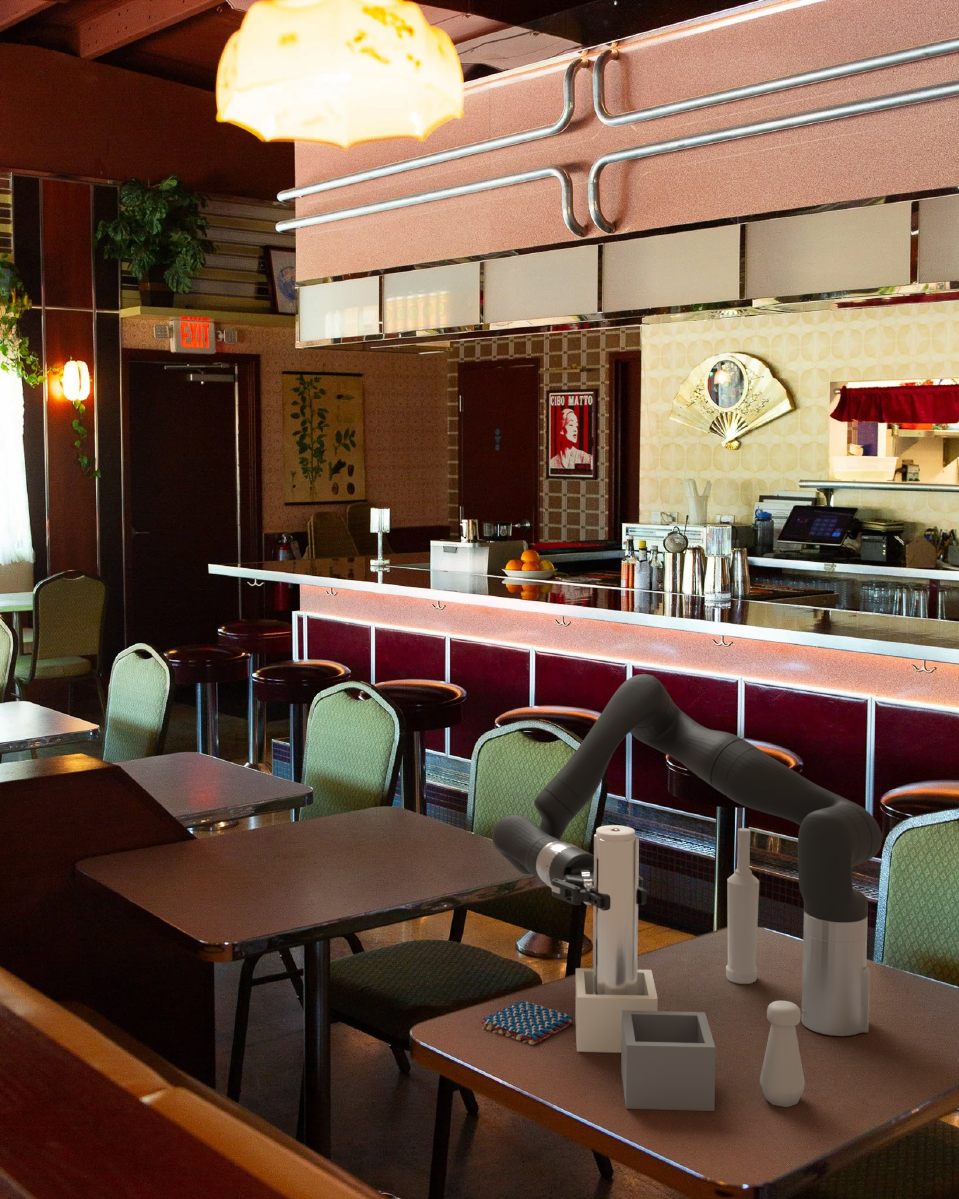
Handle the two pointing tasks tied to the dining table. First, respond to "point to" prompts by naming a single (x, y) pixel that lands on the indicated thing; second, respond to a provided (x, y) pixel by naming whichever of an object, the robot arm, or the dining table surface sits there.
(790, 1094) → the salt shaker
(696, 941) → the dining table surface
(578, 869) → the robot arm
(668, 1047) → the grey open box
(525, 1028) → the woven mat
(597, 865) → the silver tall cylinder
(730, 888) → the bottle
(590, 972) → the white open box
